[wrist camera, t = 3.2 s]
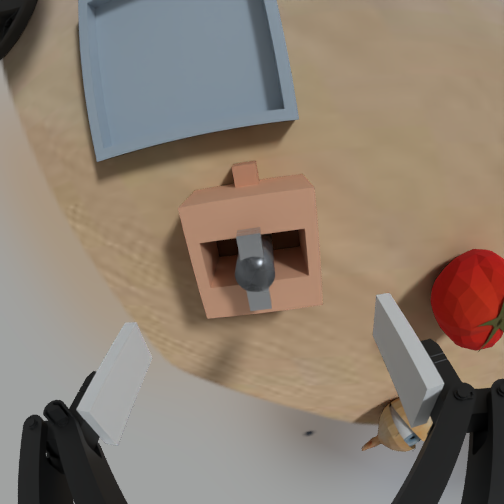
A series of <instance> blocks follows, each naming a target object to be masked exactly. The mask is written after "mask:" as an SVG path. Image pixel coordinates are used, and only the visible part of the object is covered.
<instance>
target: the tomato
mask: <svg viewBox="0 0 504 504" xmlns="http://www.w3.org/2000/svg"><path fill="white" fill-rule="evenodd" d="M431 306H432V310H433V313H434V316H435V319H436V320H437V322H438V324H439V326H440V328H441V329H442V330H443V331H444V333H445V334H446V335H447V336H448V337H449V338H450V339H451V340H452V341H453V342H454V343H455V344H456V345H458V346H460V347H463V348H467V349H471V350H479V351H480V350H481V349H485V348H489V347H492V346H493V345H494V344H495V343H496V342H497V341H498V340H499V339H500V338H501V337H502V334H503V332H504V259H503V258H502V257H500V256H499V255H497V254H496V253H494V252H492V251H489V250H482V249H472V250H470V251H467V252H465V253H463V254H461V255H460V256H458V257H456V258H455V259H454V260H452V261H451V262H450V263H449V264H448V265H447V266H446V267H445V268H444V269H443V271H442V272H441V273H440V275H439V276H438V277H437V278H436V280H435V282H434V285H433V287H432V293H431ZM479 351H478V352H479ZM478 352H477V353H478Z"/></svg>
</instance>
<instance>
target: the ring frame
mask: <svg viewBox="0 0 504 504" xmlns="http://www.w3.org/2000/svg"><path fill="white" fill-rule="evenodd" d="M232 172H233V177H234V183H235V184H229V185H223V186H217V187H211V188H206V189H200V190H195V191H194V192H193V193H192V194H191V195H190V196H189V197H188V198H187V199H186V200H185V201H184V202H183V203H182V204H181V205H180V206H179V207H178V210H179V214H180V219H181V223H182V227H183V231H184V235H185V239H186V243H187V247H188V251H189V255H190V258H191V262H192V266H193V270H194V273H195V277H196V281H197V284H198V288H199V292H200V295H201V299H202V302H203V306H204V309H205V312H206V316H207V319H209V318H219V317H230V316H239V315H249V314H257V313H266V312H274V311H282V310H290V309H297V308H304V307H312V306H318V305H323V296H322V276H321V259H320V245H319V232H318V220H317V208H316V198H315V188H314V186H313V185H312V184H311V183H310V182H309V181H308V179H307V178H306V177H305V176H304V175H303V174H300V175H292V176H284V177H276V178H269V179H262V180H259V177H258V171H257V164H256V161H250V162H243V163H237V164H233V166H232ZM257 227H260V230H261V234H268V233H275V232H283V231H290V230H298V231H299V240H300V246H299V247H291V248H284V249H277V250H273V256H274V267H275V279H274V281H273V283H272V285H271V286H270V287H269V288H270V294H271V303H272V309H264V310H256V311H250V306H249V301H248V296H247V291H246V290H245V289H243V288H242V287H241V286H239V284H238V283H237V281H236V278H235V269H236V263H237V257H238V255H232V256H225V257H219V252H218V248H217V243H216V241H218V240H225V239H232V238H236V234H237V230H242V229H249V228H257Z"/></svg>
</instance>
